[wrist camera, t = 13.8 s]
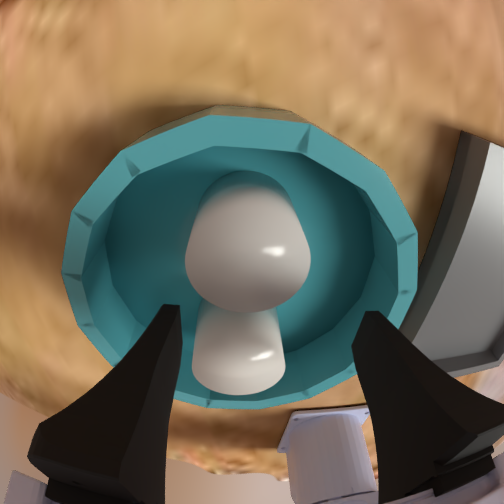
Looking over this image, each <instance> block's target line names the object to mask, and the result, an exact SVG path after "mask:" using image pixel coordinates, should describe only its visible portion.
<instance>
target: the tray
mask: <svg viewBox="0 0 504 504" xmlns="http://www.w3.org/2000/svg"><path fill="white" fill-rule="evenodd" d="M398 330H399V331H400V332H401V333H402V334H403V335H404V336H405V337H406V338H407V339H408V340H409V341H410V342H411V343H412V344H413V345H414V346H416V347H417V348H418V349H419V350H420V351H421V352H422V353H423V354H424V355H425V356H427V357H428V358H429V359H430V360H431V361H432V362H433V363H435V364H436V365H437V366H438V367H440V368H441V369H442V370H444V371H445V372H446V373H448V374H449V375H450V376H452V377H453V378H454V377H459V376H463V375H467V374H471V373H475V372H479V371H483V370H487V369H491V368H494V367H498V366H499V365H500V364H501V362H502V361H503V360H504V147H501V146H499V145H497V144H494V143H492V142H490V141H487V140H485V139H482V138H480V137H477V136H475V135H472V134H470V133H467V132H464V131H461V134H460V139H459V143H458V148H457V152H456V156H455V160H454V164H453V168H452V172H451V176H450V179H449V183H448V187H447V190H446V194H445V197H444V200H443V203H442V207H441V210H440V213H439V216H438V219H437V222H436V225H435V228H434V231H433V234H432V237H431V239H430V242H429V245H428V248H427V250H426V253H425V256H424V258H423V261H422V263H421V266H420V268H419V271H418V275H417V291H416V293H415V296H414V298H413V300H412V302H411V304H410V306H409V309H408V311H407V313H406V315H405V317H404V319H403V321H402V323H401V325H400V327H399V329H398Z"/></svg>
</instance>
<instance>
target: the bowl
mask: <svg viewBox="0 0 504 504" xmlns="http://www.w3.org/2000/svg"><path fill="white" fill-rule="evenodd" d="M237 171H254V172H259V173H263V174H265V175H268V176H270V177H271V178H273V179H275V180H276V181H277V182H278V183H280V184H281V185H282V186H283V187H284V189H285V190H286V192H287V193H288V195H289V197H290V199H291V202H292V204H293V207H294V209H295V212H296V214H297V217H298V219H299V222H300V224H301V227H302V230H303V232H304V235H305V237H306V240H307V243H308V246H309V249H310V255H311V263H310V269H309V272H308V276H307V278H306V280H305V282H304V283H303V285H302V287H301V288H300V289H299V290H298V291H297V293H296V294H294V295H293V296H292V297H291V298H290V299H288V300H287V301H286V302H284V303H282V304H281V305H279V306H276V309H277V315H278V322H279V328H280V334H281V340H282V347H283V353H284V360H285V372H284V374H283V376H282V378H281V379H280V380H279V381H278V382H277V383H276V384H275V385H273V386H272V387H270V388H268V389H266V390H264V391H261V392H258V393H254V394H248V395H228V394H223V393H219V392H215V391H213V390H210V389H208V388H206V387H205V386H203V385H202V384H201V383H199V381H198V380H197V379H196V378H195V376H194V374H193V372H192V359H193V350H194V341H195V333H196V325H197V317H198V309H199V305H200V302H201V301H202V299H203V297H202V296H201V295H200V294H198V292H197V291H196V290H195V289H194V287H193V286H192V284H191V283H190V280H189V278H188V276H187V272H186V267H185V254H186V250H187V246H188V242H189V238H190V234H191V231H192V227H193V223H194V220H195V216H196V213H197V209H198V206H199V202H200V200H201V197H202V195H203V194H204V192H205V191H206V189H207V188H208V187H209V186H210V185H211V184H212V183H213V182H214V181H216V180H217V179H219V178H220V177H222V176H224V175H227V174H229V173H233V172H237ZM61 274H62V277H63V281H64V284H65V288H66V291H67V294H68V298H69V301H70V304H71V307H72V310H73V313H74V316H75V319H76V322H77V325H78V326H79V328H80V329H81V330H82V331H83V333H84V334H85V335H86V336H87V338H88V339H89V340H90V341H91V342H92V344H93V345H94V346H95V347H96V348H97V350H98V351H99V352H100V353H101V354H102V355H103V357H104V358H105V359H106V360H107V361H108V362H109V363H110V365H111V366H113V367H115V366H116V365H117V364H118V363H119V362H120V361H121V359H122V358H123V357H124V356H125V355H126V354H127V352H128V351H129V350H130V349H131V348H132V347H133V345H134V344H135V343H136V342H137V340H138V339H139V338H140V336H141V335H142V334H143V332H144V331H145V330H146V328H147V327H148V325H149V324H150V323H151V321H152V320H153V318H154V317H155V315H156V314H157V312H158V310H159V309H160V307H161V306H162V305H163V304H173V305H180V313H181V326H182V338H183V346H182V356H181V365H180V370H179V375H178V379H177V384H176V389H175V393H174V398H173V399H176V400H180V401H183V402H187V403H191V404H194V405H198V406H202V407H206V408H222V409H263V408H268V407H273V406H278V405H282V404H287V403H291V402H296V401H300V400H304V399H308V398H311V397H313V396H315V395H317V394H319V393H321V392H323V391H325V390H327V389H329V388H331V387H333V386H335V385H337V384H339V383H341V382H343V381H345V380H347V379H349V378H350V377H352V376H354V375H356V374H357V372H356V369H355V364H354V359H353V354H352V348H351V345H352V343H353V340H354V338H355V335H356V333H357V331H358V328H359V326H360V323H361V321H362V318H363V316H364V313H365V311H379V312H381V313H382V314H383V315H384V316H385V317H386V318H387V319H388V320H389V321H390V322H391V323H392V324H393V325H394V326H395V327H396V328H397V329H399V327H400V325H401V323H402V321H403V319H404V317H405V315H406V313H407V311H408V309H409V306H410V304H411V302H412V300H413V298H414V296H415V293H416V291H417V275H418V232H417V230H416V228H415V226H414V224H413V222H412V220H411V218H410V216H409V214H408V212H407V210H406V208H405V207H404V205H403V203H402V201H401V199H400V197H399V195H398V194H397V192H396V190H395V188H394V186H393V185H392V183H391V181H390V179H389V178H388V176H387V174H386V173H385V171H384V170H383V169H381V168H380V167H379V166H377V165H376V164H374V163H373V162H372V161H370V160H369V159H368V158H366V157H365V156H363V155H362V154H360V153H359V152H358V151H356V150H355V149H353V148H352V147H350V146H349V145H347V144H346V143H344V142H342V141H341V140H339V139H338V138H336V137H334V136H333V135H331V134H329V133H328V132H326V131H324V130H323V129H321V128H319V127H318V126H316V125H314V124H313V123H311V122H309V121H307V120H306V119H304V118H302V117H300V116H299V115H297V114H295V113H293V112H291V111H285V110H276V109H266V108H255V107H242V106H227V105H216V106H213V107H210V108H207V109H205V110H202V111H199V112H196V113H193V114H191V115H188V116H185V117H183V118H180V119H178V120H175V121H173V122H170V123H168V124H165V125H163V126H160V127H158V128H155V129H153V130H151V131H149V132H148V133H146V134H145V135H143V136H142V137H140V138H139V139H137V140H136V141H134V142H133V143H131V144H130V145H128V146H127V147H126V148H124V149H123V150H121V151H120V152H119V153H118V155H117V156H116V157H115V158H114V159H113V160H112V161H111V163H110V164H109V165H108V166H107V167H106V168H105V170H104V171H103V172H102V173H101V174H100V176H99V177H98V178H97V179H96V180H95V182H94V183H93V184H92V185H91V187H90V188H89V189H88V190H87V192H86V193H85V194H84V195H83V197H82V198H81V199H80V201H79V202H78V203H77V205H76V206H75V207H74V209H73V210H72V212H71V217H70V222H69V227H68V232H67V238H66V243H65V250H64V256H63V263H62V270H61Z"/></svg>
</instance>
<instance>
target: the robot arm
mask: <svg viewBox="0 0 504 504" xmlns="http://www.w3.org/2000/svg"><path fill="white" fill-rule="evenodd" d="M182 346H183V338H182V326H181V313H180V305H173V304H163V305H162V306H161V307H160V309H159V310H158V312H157V314H156V315H155V317H154V318H153V320H152V321H151V323H150V324H149V325H148V327H147V328H146V330H145V331H144V332H143V334H142V335H141V336H140V338H139V339H138V340H137V342H136V343H135V344H134V345H133V347H132V348H131V349H130V350H129V351H128V352H127V354H126V355H125V356H124V357H123V358H122V359H121V361H120V362H119V363H118V364H117V365H116V366H115V367H114V368H113V369H112V370H111V371H110V372H109V373H108V374H107V375H106V376H105V377H104V378H103V379H102V380H101V381H99V382H98V383H97V384H96V385H95V386H94V387H93V388H91V389H90V390H89V391H88V392H87V393H85V394H84V395H83V396H81V397H80V398H79V399H77V400H76V401H75V402H73V403H72V404H70V405H69V406H68V407H66V408H65V409H63V410H62V411H60V412H58V413H57V414H55V415H53V416H52V417H50V418H48V419H47V420H45V421H43V422H41V423H40V424H39V425H38V428H37V429H36V431H35V434H34V436H33V439H32V442H31V445H30V448H29V452H28V455H27V457H28V459H29V461H30V462H31V463H32V464H33V465H34V466H35V467H36V468H37V469H38V470H40V471H41V472H42V473H43V474H45V475H46V476H47V477H49V480H48V485H47V484H45V483H43V482H41V481H39V480H37V479H34V478H32V477H29V476H27V475H25V474H22V473H20V472H18V471H16V470H13V471H12V474H11V478H10V481H9V485H8V489H7V493H6V497H5V501H4V504H165V467H166V450H167V436H168V425H169V418H170V412H171V407H172V403H173V398H174V393H175V389H176V384H177V379H178V375H179V370H180V365H181V356H182ZM351 348H352V354H353V359H354V364H355V369H356V372H357V375H358V378H359V381H360V384H361V387H362V390H363V393H364V396H365V399H366V402H367V405H362V406H354V407H345V408H334V409H322V410H306V411H295V412H293V413H292V414H291V417H290V419H289V422H288V424H287V427H286V429H285V431H284V434H283V436H282V438H281V441H280V443H279V445H278V448H277V452H278V453H286V456H287V465H288V473H289V482H290V491H291V497H292V499H293V501H294V503H295V504H504V452H503V453H501V454H500V455H498V456H496V457H495V458H493V459H492V456H491V454H492V453H493V452H494V448H493V446H492V445H493V444H494V443H495V442H496V441H497V440H498V439H500V438H501V437H502V436H503V435H504V404H502V403H499V402H497V401H495V400H492V399H490V398H488V397H485V396H484V395H482V394H480V393H478V392H476V391H474V390H472V389H470V388H469V387H467V386H465V385H464V384H462V383H461V382H459V381H458V380H456V379H455V378H453V377H452V376H450V375H449V374H448V373H446V372H445V371H444V370H442V369H441V368H440V367H438V366H437V365H436V364H435V363H433V362H432V361H431V360H430V359H429V358H428V357H427V356H425V355H424V354H423V353H422V352H421V351H420V350H419V349H418V348H417V347H416V346H414V345H413V344H412V343H411V342H410V341H409V340H408V339H407V338H406V337H405V336H404V335H403V334H402V333H401V332H400V331H399V330H398V329H397V328H396V327H395V326H394V325H393V324H392V323H391V322H390V321H389V320H388V319H387V318H386V317H385V316H384V315H383V314H382V313H381V312H379V311H365V313H364V316H363V318H362V321H361V323H360V326H359V328H358V331H357V333H356V335H355V338H354V340H353V343H352V345H351ZM369 415H370V416H371V420H372V425H373V431H374V437H375V444H376V452H377V462H378V479H379V480H378V482H379V491H378V490H377V486H376V482H375V478H374V473H373V469H372V465H371V461H370V458H369V454H368V450H367V446H366V442H365V438H364V435H363V431H362V427H361V425H362V424H363V423H364V421H365V420H366V419H367V417H368V416H369Z"/></svg>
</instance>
